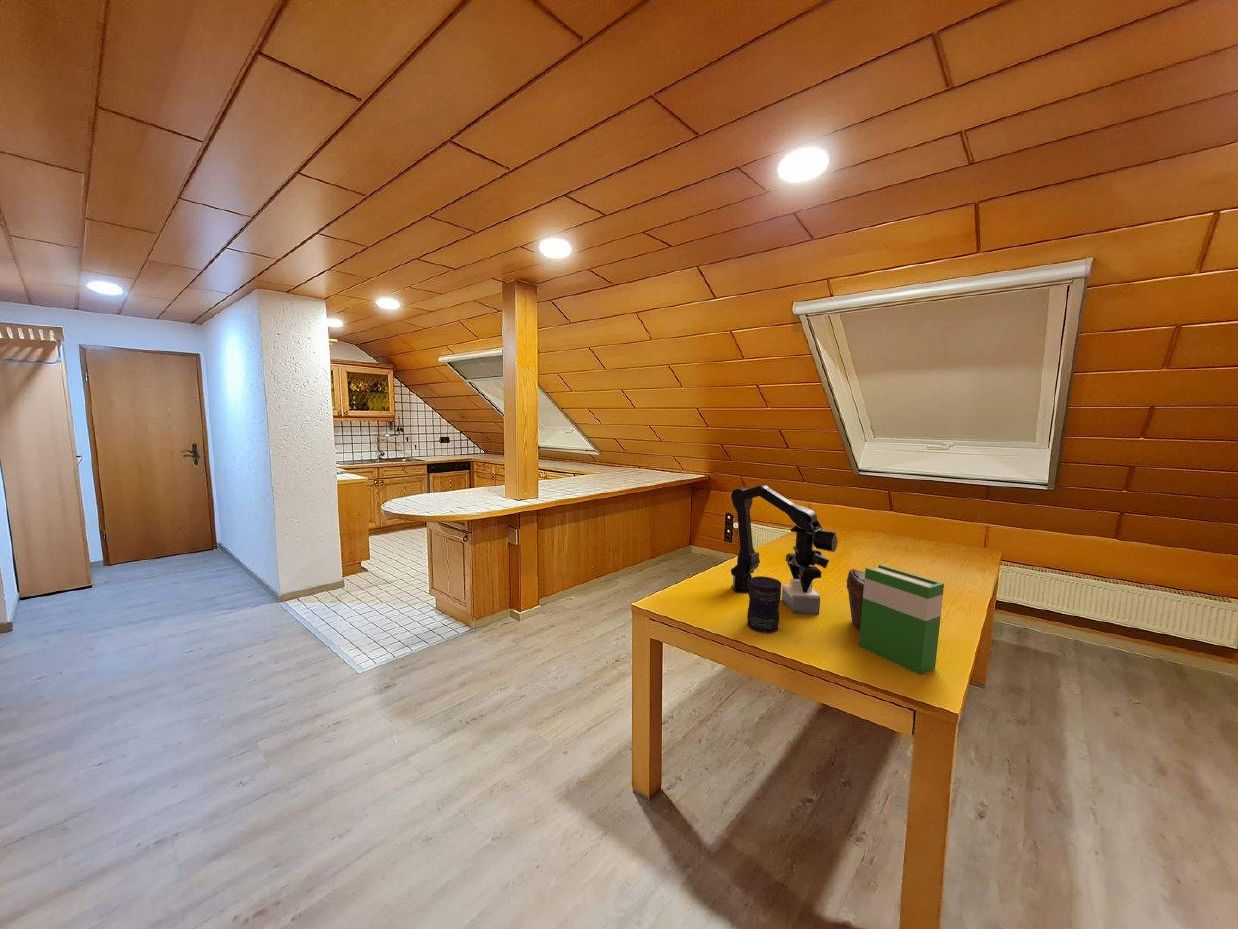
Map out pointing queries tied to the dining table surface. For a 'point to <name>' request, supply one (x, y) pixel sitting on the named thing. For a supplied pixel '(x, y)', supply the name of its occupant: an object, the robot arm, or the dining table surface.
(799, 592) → the lid
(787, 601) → the grey open box
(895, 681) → the dining table surface
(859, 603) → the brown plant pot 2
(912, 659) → the hardback book
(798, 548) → the robot arm
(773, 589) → the storage jar
